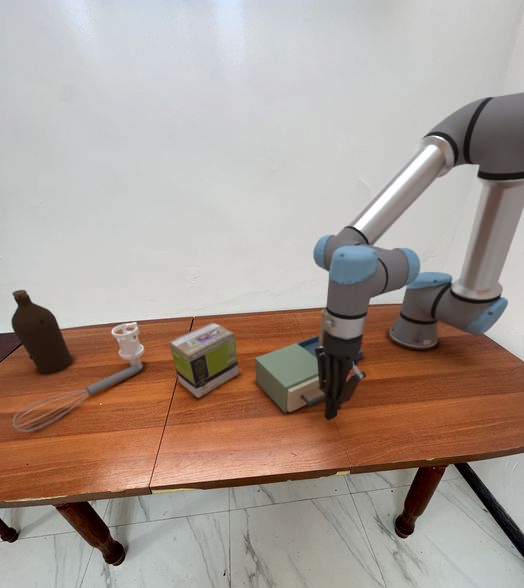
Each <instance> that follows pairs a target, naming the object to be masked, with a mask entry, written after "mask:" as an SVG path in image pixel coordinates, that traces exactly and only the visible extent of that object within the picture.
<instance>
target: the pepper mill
mask: <svg viewBox="0 0 524 588" xmlns="http://www.w3.org/2000/svg"><path fill="white" fill-rule="evenodd" d="M325 314H326V306H325V307H324V308H323V309H322V310H321V314H320V325H319V333H318V335H319V343H318V347H321V346H322V341H323V331H324V329H325V328H324V324H325Z"/></svg>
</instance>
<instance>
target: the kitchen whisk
mask: <svg viewBox="0 0 524 588" xmlns="http://www.w3.org/2000/svg"><path fill="white" fill-rule="evenodd" d="M141 365H142V368H141V369H139V367H138V366H139V365H135V366H131V365H130V366H129V367H127V368H125V369H123V370H120V371H118V372H116V373H113V374H111V375H109V376H108V377H105V378H103V379H101V380H99V381H97V382H95V383H92V384H90V385H87V386H86V387H85V389H79V390H73V391H72V392H71V391H69V392H63V393H59V394H56V395H55V394H54V395H52V396H48V397H45V398H43V399H42V398H41V399H39V400H35V401H34V402H32V403H29V404H27V405H26V406H24V407H22V408H21V409H19V412H18V414H14V417H13V420H12V424H13V427H14V428H16V429H17V430H18V431H20V432H23V433H29V432H31V431H32V432H35V431H37V430H40V429H42V428H44V427H46V426H49V425H50V424H52V423H54V422H56V421H57V420H59V419H60V418H61V417H63V416H64V415H66V414H67V413H68V412H70V411H72V409H74V408H75V407H76V406H77V405H79V404H81V402H83V400H85V399H86V398H87V397H88V396H90V397H92V396H93V395H96V394H97V393H100V392H102V391H104V390H106V389H108V388H111V387H112V386H114V385H116V384H119V383H120V382H123V381H125V380H127V379H128V378H131V377H133V376H135V375H137V374H138V373H140V372H141V370H142V369H144V366H145V365H144V364H143V363H141ZM76 394H77V395H76ZM73 395H74V396H73ZM70 396H72V397H70ZM77 396H78V397H77ZM67 397H70V398H67ZM75 397H77V398H75ZM56 398H57V399H56ZM63 398H67V399H65V400H61V399H63ZM73 398H75V399H73ZM53 399H54V400H53ZM71 399H73V400H71ZM58 400H61V401H60V402H57V403H56V404H53V405H50V406H49V407H46V408H44V409H42V410H40V411H37V412H35V413H33V414H31V415H29V416H27V417H25V418H23V419H21V418H22V417H23V416H24V415H26V414H28V413H30V412H32V411H33V410H36V409H38V408H40V407H42V406H45V405H47V404H50V403H52V402H56V401H58ZM68 400H71V401H69V402H67V403H65V404H63V405H61V406H59V407H57V408H55V409H53V410H52V411H49V412H47V413H45V414H43V415H41V416H39V417H37V418H35V419H33V420H32V419H31V420H30V421H28V422H25V423H22V424H20V425H17V424H18V423H21V422H22V421H24V420H27V419H29V418H30V417H32V416H34V415H36V414H39V413H40V412H43V411H45V410H47V409H49V408H53V407H54V406H56V405H59V404H61V403H63V402H66V401H68ZM75 400H76V401H75ZM46 401H48V402H46ZM44 402H46V403H44ZM76 402H77V403H76ZM41 403H44V404H41ZM70 403H71V404H70ZM74 403H76V404H74ZM39 404H41V405H39ZM68 404H69V405H68ZM73 404H74V405H73ZM35 405H39V406H37V407H34V406H35ZM66 405H68V406H66ZM72 405H73V406H72ZM65 406H66V407H65ZM70 406H71V407H70ZM32 407H34V408H32ZM63 407H64V408H63ZM68 407H70V408H68ZM29 408H32V409H30V410H29V411H26V410H27V409H29ZM60 408H63V409H61V410H59V411H57V412H56V413H54V414H52V415H51V416H48V417H47V418H45V419H43V420H41V421H39V422H37V423H33V424H31V425H29V426H25V427H23V429H20V428H19V427H22V426H24V425H27V424H29V423H31V422H34V421H36V420H38V419H40V418H43V417H45V416H46V415H49V414H51V413H52V412H55V411H56V410H58V409H60ZM67 408H68V409H67ZM65 409H67V410H66V411H64V412H63V413H61V414H60V415H58V416H57V417H55V418H53V419H52V420H50V421H48V422H46V423H44V424H42V425H40V426H37V427H34V428H31V429H27V428H30V427H32V426H35V425H38V424H39V423H41V422H44V421H46V420H48V419H49V418H51V417H54V416H55V415H56V414H59V413H60V412H62V411H63V410H65ZM24 411H26V412H25V413H23V412H24ZM21 413H23V414H22V415H20V414H21ZM18 415H20V416H19V417H18V418H17V419H16V417H17V416H18ZM15 419H16V420H15ZM19 419H21V420H19ZM17 421H18V422H17Z"/></svg>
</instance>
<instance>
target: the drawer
mask: <svg viewBox="0 0 524 588" xmlns="http://www.w3.org/2000/svg"><path fill="white" fill-rule="evenodd" d="M325 381H326V380H324V382H325ZM322 403H325V393H324V389H323V388H320V386H319V375H318V376H316V377H313V378H311V379H309V380H307V381H304V382H302V383H300V384H297V385H295V386H293V387H291V388H288V392H287V410H288V412H289V413H291V412H294V411H296V410H298V409H300V408H302V407H305V406H307V408H309V409H312V408H314V407H315V406H318V405H320V404H322Z"/></svg>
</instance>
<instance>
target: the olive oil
mask: <svg viewBox="0 0 524 588" xmlns="http://www.w3.org/2000/svg"><path fill="white" fill-rule="evenodd" d="M11 294H12V296H13V299H14V301H15V303H16V304H17V307H16V309H15V311H14V313H13V315H12V317H11V320H10V322H11V328H12V330H13V333H14V334H15V335H16V336H17V339H18V340H19V341H20V342H21V345H22V346H23V347H24V350H26V352H27V354H28V357H29V359H30V360H31V361H32V362H33V363H34V365H35V366H36V368H37V370H38V371H39V372H40V373H42V374H52V373H58V372H60V371H63V370H65V369H66V368H68V367H69V366H70V365H71V364H72V362H73V358H72V355H71V353H70V351H69V349H68V345H67V343H66V341H65V338H64V336H63V334H62V331H61V328H60V326H59V323H58V321H57V317H56V316H55V315H54V314H53V312H52V311H50V309H48V308H47V307H44V306H41V305H39V304H37V303H34V302H32V299H31V297H30V295H29V294H28V292H27V290H26V289H18V290H15V291H13V292H12V293H11Z"/></svg>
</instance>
